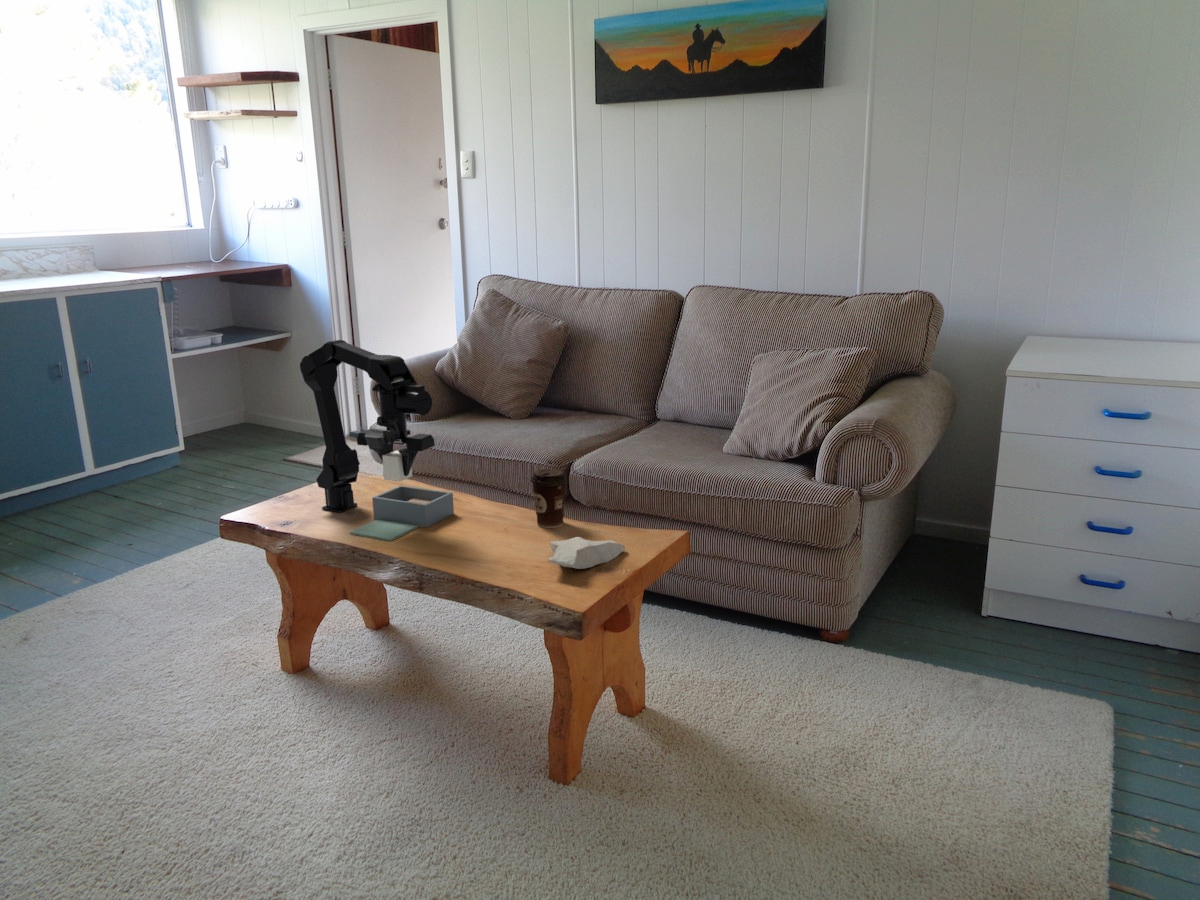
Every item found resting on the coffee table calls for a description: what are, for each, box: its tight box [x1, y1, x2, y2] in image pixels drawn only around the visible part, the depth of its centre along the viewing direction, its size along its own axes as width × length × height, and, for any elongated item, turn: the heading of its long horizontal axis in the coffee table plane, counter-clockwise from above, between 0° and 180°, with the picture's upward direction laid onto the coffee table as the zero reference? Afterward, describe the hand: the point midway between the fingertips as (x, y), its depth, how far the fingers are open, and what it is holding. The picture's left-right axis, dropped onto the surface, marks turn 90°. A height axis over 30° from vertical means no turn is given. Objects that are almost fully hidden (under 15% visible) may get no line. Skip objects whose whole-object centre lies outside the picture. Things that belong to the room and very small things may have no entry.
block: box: [382, 450, 413, 483], centre depth 219 cm, size 4×5×6 cm
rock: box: [547, 536, 626, 570], centre depth 196 cm, size 21×5×15 cm
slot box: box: [372, 485, 455, 528], centre depth 226 cm, size 16×11×6 cm
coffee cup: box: [529, 468, 568, 529], centre depth 217 cm, size 9×8×13 cm
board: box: [349, 519, 419, 542], centre depth 217 cm, size 12×10×1 cm
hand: (398, 474), depth 219 cm, fingers closed on block, 4 cm apart
